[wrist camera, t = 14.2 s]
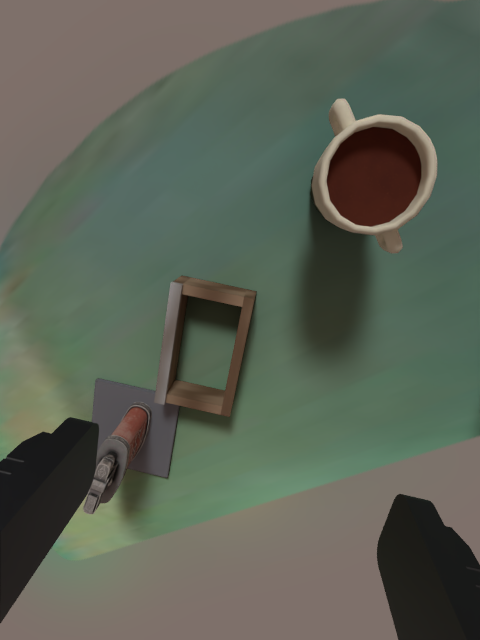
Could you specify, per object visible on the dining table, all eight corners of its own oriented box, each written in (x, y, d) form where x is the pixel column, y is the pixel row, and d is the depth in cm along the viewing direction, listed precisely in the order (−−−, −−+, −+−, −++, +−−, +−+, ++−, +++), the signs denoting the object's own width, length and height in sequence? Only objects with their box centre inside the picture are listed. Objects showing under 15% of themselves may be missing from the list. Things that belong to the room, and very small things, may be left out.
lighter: (130, 397, 44) (88, 450, 34) (157, 408, 44) (123, 464, 34) (111, 451, 46) (67, 514, 36) (137, 461, 46) (100, 528, 37)
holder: (256, 291, 39) (254, 300, 35) (233, 400, 43) (229, 419, 39) (181, 275, 40) (170, 282, 36) (165, 385, 43) (154, 402, 40)
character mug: (401, 223, 36) (464, 232, 24) (330, 256, 37) (355, 280, 25) (358, 110, 34) (403, 54, 21) (284, 150, 35) (287, 119, 23)
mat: (181, 396, 44) (179, 399, 43) (168, 474, 47) (167, 477, 46) (97, 378, 44) (95, 380, 43) (91, 456, 47) (88, 459, 47)
